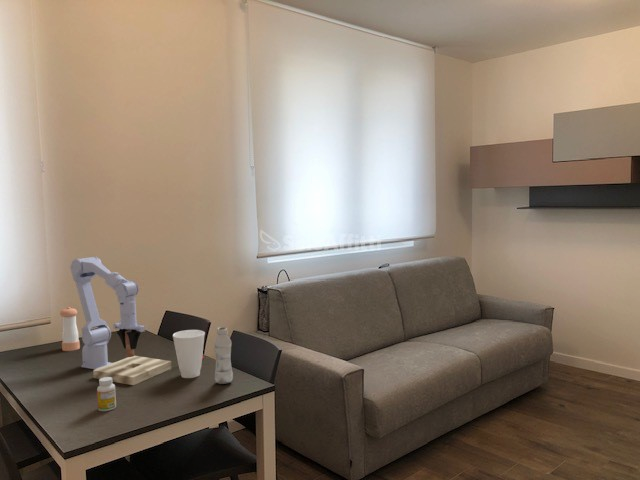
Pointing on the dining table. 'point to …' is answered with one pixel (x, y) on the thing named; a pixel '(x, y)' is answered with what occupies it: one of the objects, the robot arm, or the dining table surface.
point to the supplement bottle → (106, 394)
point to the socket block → (133, 369)
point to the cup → (189, 351)
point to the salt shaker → (69, 330)
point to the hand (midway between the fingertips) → (130, 348)
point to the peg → (128, 346)
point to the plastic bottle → (223, 357)
